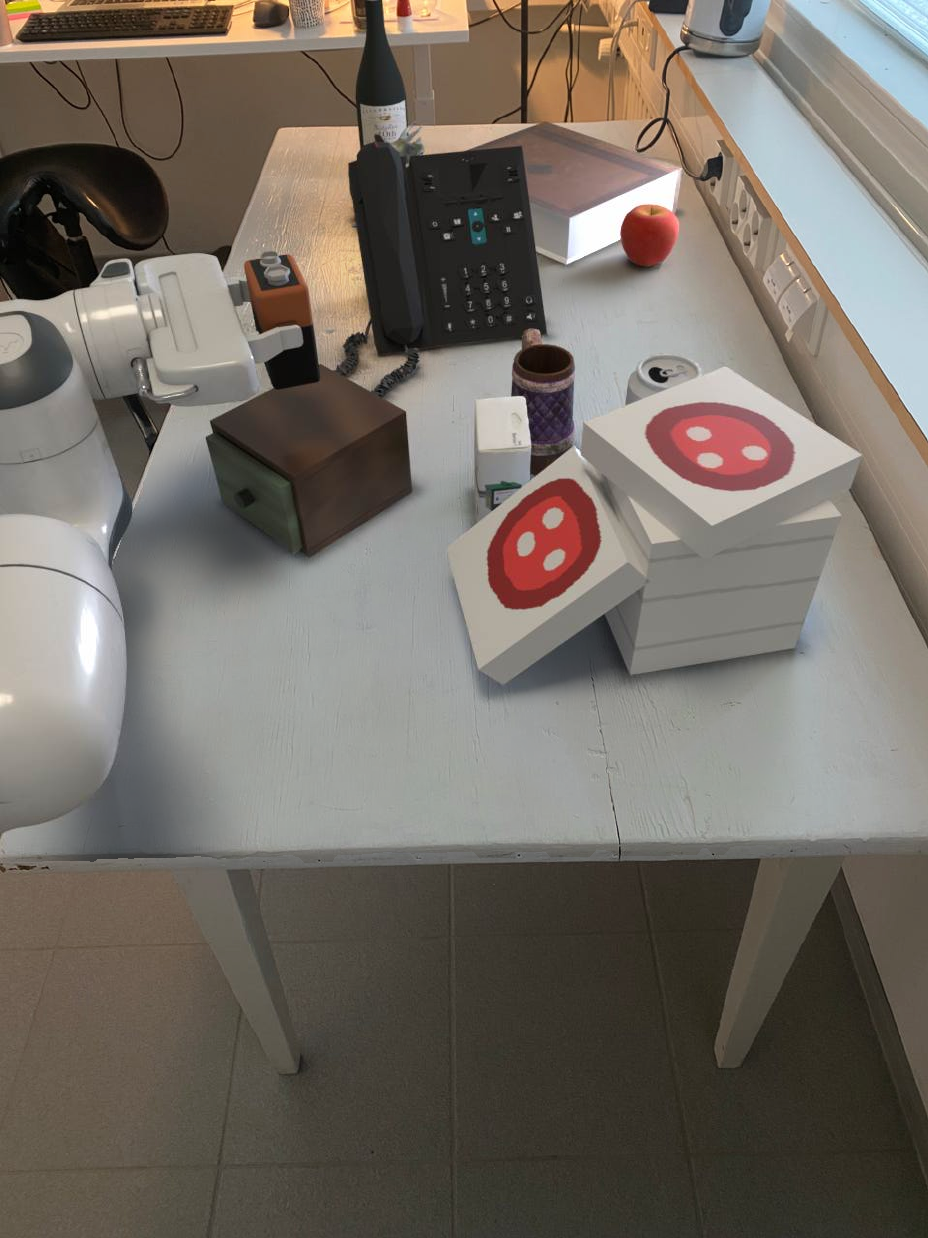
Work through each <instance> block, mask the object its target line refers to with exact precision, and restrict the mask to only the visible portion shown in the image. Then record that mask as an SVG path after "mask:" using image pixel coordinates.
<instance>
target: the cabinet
mask: <svg viewBox="0 0 928 1238" xmlns="http://www.w3.org/2000/svg"><path fill="white" fill-rule="evenodd" d="M319 368H320V376H321V378H320V381H319V382H316V383H311V384H306V385H301V386H296V387H290V388H285V389H280V390H276V389H274V388H273V387H272V388H271V389H268V390H267V391H265V392H263V393H261V394H259V395H257V396H255V397H253V398H251V399H248V400H247V401H245V402H243V403H242V404H239V405H238V406H235V407H233V408H232V409H230V410H228V411H226V412H223V413H222V414H219V415H217V416H216V417H213V418H212V419H210V420H209V424H210V427H211V428H210V429H211V431H212V433H214V432H216V433H217V434H219V435H220V436H222V437H223V438H225V439H226V440H228V441H229V442H231V443H232V444H234V445H235V446H236V445H237V446H239V447H240V448H242V449H243V450H245V451H246V452H248V453H249V454H251V455H252V456H254V457H255V458H257V459H258V460H260V461H261V462H262V463H264V464H265V465H267V466H268V467H270V468H271V469H273V470H274V471H276V472H277V473H279V474H280V475H282V476H283V477H285V478H286V479H288V480H289V482H290V483H291V488H292V493H293V498H294V503H295V508H296V513H297V518H298V524H299V529H300V534H301V539H302V544H303V548H302V549H300V550H299V551H298V552H300V553H301V554H303V555H304V556H306V557H307V558H311V557H312V556H313V557H314V555H316V554H317V553H319V552H321V551H323V550H324V549H325V548H327V547H328V546H330V545H331V544H333V543H334V542H337V541H338V540H339V539H341V538H343V537H344V536H345V535H347V534H348V533H350V532H352V531H353V530H355V529H357V528H358V527H360V526H361V525H363V524H364V523H366V522H367V521H369V520H370V519H372V518H373V517H375V516H377V515H378V514H380V513H381V512H383V511H385V510H386V509H388V508H390V507H391V506H393V505H394V504H395V503H397V502H399V501H400V500H402V499H403V498H405V497H406V496H409V494H411V493H413V484H412V483H413V481H412V473H411V472H412V471H411V457H410V446H409V443H410V442H409V432H408V420H407V419H408V417H407V411H406V410H405V409H403V408H402V407H399V406H397V405H396V404H394V403H392V402H390V401H388V399H384V397H383V398H381V397H379V396H378V395H376V394H374V393H372V392H371V390H368V389H367V388H365V387H363V386H361V385H359V384H358V383H356V382H354V381H353V380H350V379H349V378H347V377H345V376H344V375H343V376H342V375H340V374H338V373H336V372H335V371H333V370H334V369H331V368H329V367H328V366H325V365H324V364H322V363H319Z"/></svg>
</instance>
